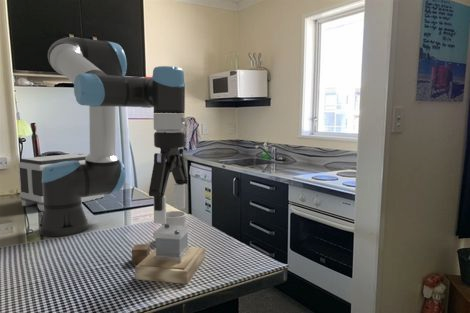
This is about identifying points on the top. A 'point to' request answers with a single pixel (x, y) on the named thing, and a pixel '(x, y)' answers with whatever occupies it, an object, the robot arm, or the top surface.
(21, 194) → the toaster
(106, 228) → the top surface
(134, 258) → the walnut block
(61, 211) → the robot arm
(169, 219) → the cup
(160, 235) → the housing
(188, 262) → the tan square tray
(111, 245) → the top surface
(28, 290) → the top surface
